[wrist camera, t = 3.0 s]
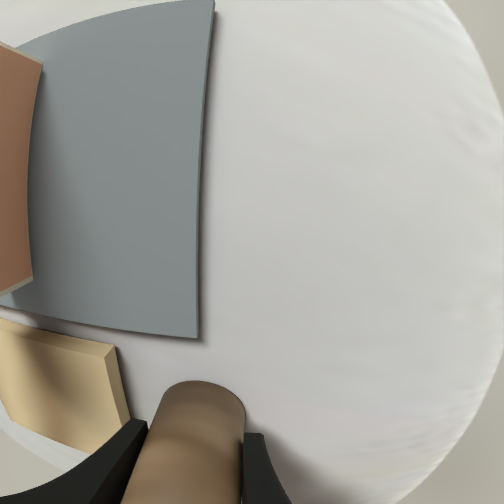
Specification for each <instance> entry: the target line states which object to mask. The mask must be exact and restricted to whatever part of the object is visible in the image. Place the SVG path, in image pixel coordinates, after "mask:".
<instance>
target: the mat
mask: <svg viewBox="0 0 504 504" xmlns="http://www.w3.org/2000/svg"><path fill="white" fill-rule="evenodd" d="M214 9H215V1H214V0H183V1H174V2H167V3H160V4H153V5H147V6H142V7H137V8H132V9H127V10H122V11H118V12H114V13H110V14H106V15H102V16H98V17H95V18H91V19H88V20H85V21H82V22H79V23H75V24H72V25H70V26H67V27H64V28H61V29H58V30H56V31H53V32H51V33H48V34H46V35H43V36H41V37H38V38H36V39H34V40H31V41H29V42H27V43H25V44H23V45H21V46H18V47H16V49H18V50H20V51H22V52H24V53H26V54H29V55H31V56H33V57H35V58H37V59H39V60H41V61H43V64H42V68H41V72H40V77H39V82H38V87H37V92H36V97H35V103H34V109H33V116H32V124H31V132H30V142H29V155H28V175H27V213H28V233H29V246H30V256H31V265H32V273H33V281H31V282H29V283H28V284H26V285H24V286H22V287H20V288H18V289H16V290H14V291H12V292H10V293H8V294H6V295H4V296H3V297H1V298H0V305H3V306H7V307H11V308H15V309H19V310H23V311H27V312H31V313H36V314H40V315H44V316H49V317H54V318H59V319H64V320H69V321H74V322H79V323H85V324H90V325H96V326H102V327H108V328H115V329H122V330H129V331H136V332H143V333H151V334H160V335H169V336H178V337H188V338H197V336H198V334H199V322H198V223H199V189H200V166H201V147H202V131H203V116H204V103H205V91H206V80H207V69H208V59H209V50H210V41H211V33H212V24H213V17H214Z"/></svg>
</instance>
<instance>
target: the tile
mask: <svg viewBox="0 0 504 504" xmlns="http://www.w3.org/2000/svg"><path fill="white" fill-rule="evenodd" d="M42 64H43V61H41V60H39V59H37V58H35V57H33V56H31V55H29V54H26V53H24V52H22V51H20V50H18V49H16V48H14V47H11V46H9V45H7V44H5V43H3V42H0V298H1V297H3V296H4V295H6V294H8V293H10V292H12V291H14V290H16V289H18V288H20V287H22V286H24V285H26V284H28V283H29V282H31V281H33V273H32V265H31V256H30V246H29V233H28V213H27V175H28V155H29V142H30V132H31V124H32V116H33V109H34V103H35V97H36V92H37V87H38V82H39V77H40V72H41V68H42Z"/></svg>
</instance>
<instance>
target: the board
mask: <svg viewBox="0 0 504 504" xmlns="http://www.w3.org/2000/svg"><path fill="white" fill-rule="evenodd" d="M0 399H1V401H2V403H3V405H4V407H5V410H6V412H7V414H8V415H9V417H10V419H11V420H12V421H14V422H16V423H18V424H20V425H22V426H24V427H26V428H28V429H30V430H32V431H34V432H36V433H38V434H41V435H43V436H45V437H47V438H50V439H52V440H54V441H57V442H59V443H62V444H64V445H67V446H70V447H72V448H75V449H78V450H80V451H83V452H86V453H89V454H93V453H94V452H95V451H97V450H98V449H99V448H100V447H101V446H102V445H103V444H104V443H106V442H107V441H108V440H109V439H110V438H111V437H112V436H113V435H114V434H115V433H116V432H117V431H118V430H119V429H120V428H121V427H122V426H123V425H124V424H125V423H127V422H128V421H129V420H130V419H131V418H130V414H129V411H128V407H127V403H126V399H125V395H124V390H123V386H122V382H121V377H120V372H119V367H118V362H117V357H116V352H115V346H114V345H111V344H105V343H100V342H95V341H89V340H84V339H80V338H75V337H70V336H66V335H61V334H57V333H53V332H49V331H45V330H41V329H37V328H33V327H29V326H26V325H22V324H19V323H15V322H12V321H8V320H5V319H2V318H0Z"/></svg>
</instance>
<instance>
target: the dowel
mask: <svg viewBox="0 0 504 504" xmlns="http://www.w3.org/2000/svg"><path fill="white" fill-rule="evenodd" d="M244 427H245V411H244V407H243V405H242V403H241V402H240V400H239V399H238V398H237V397H236V396H235V395H234V394H233V393H231V392H230V391H229V390H227V389H225V388H223V387H221V386H219V385H216V384H213V383H209V382H205V381H185V382H181V383H178V384H175V385H173V386H172V387H170V388H169V389H168V390H167V391H166V392H165V393H164V395H163V397H162V399H161V402H160V404H159V407H158V409H157V412H156V414H155V416H154V419H153V421H152V424H151V426H150V429H149V431H148V434H147V436H146V439H145V441H144V444H143V446H142V449H141V451H140V454H139V456H138V459H137V462H136V464H135V467H134V469H133V472H132V475H131V477H130V480H129V482H128V485H127V488H126V490H125V493H124V496H123V498H122V501H121V504H241V497H242V457H243V436H244Z"/></svg>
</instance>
